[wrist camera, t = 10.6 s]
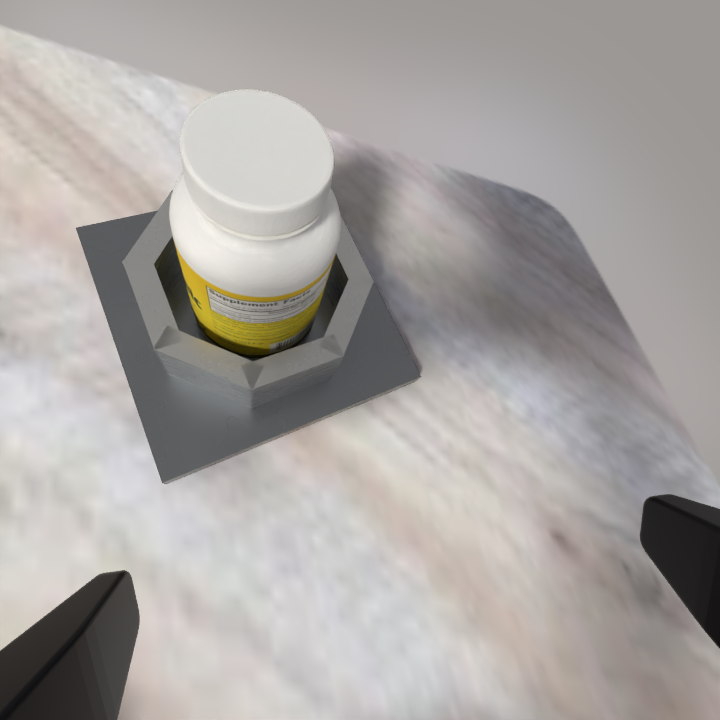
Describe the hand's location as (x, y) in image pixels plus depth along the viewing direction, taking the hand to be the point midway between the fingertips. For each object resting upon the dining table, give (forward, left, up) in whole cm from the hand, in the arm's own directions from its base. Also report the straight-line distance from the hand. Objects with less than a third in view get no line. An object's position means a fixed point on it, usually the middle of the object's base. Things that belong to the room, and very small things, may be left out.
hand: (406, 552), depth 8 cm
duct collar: (+1, +10, -12) cm, 16 cm away
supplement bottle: (+1, +10, -12) cm, 15 cm away
